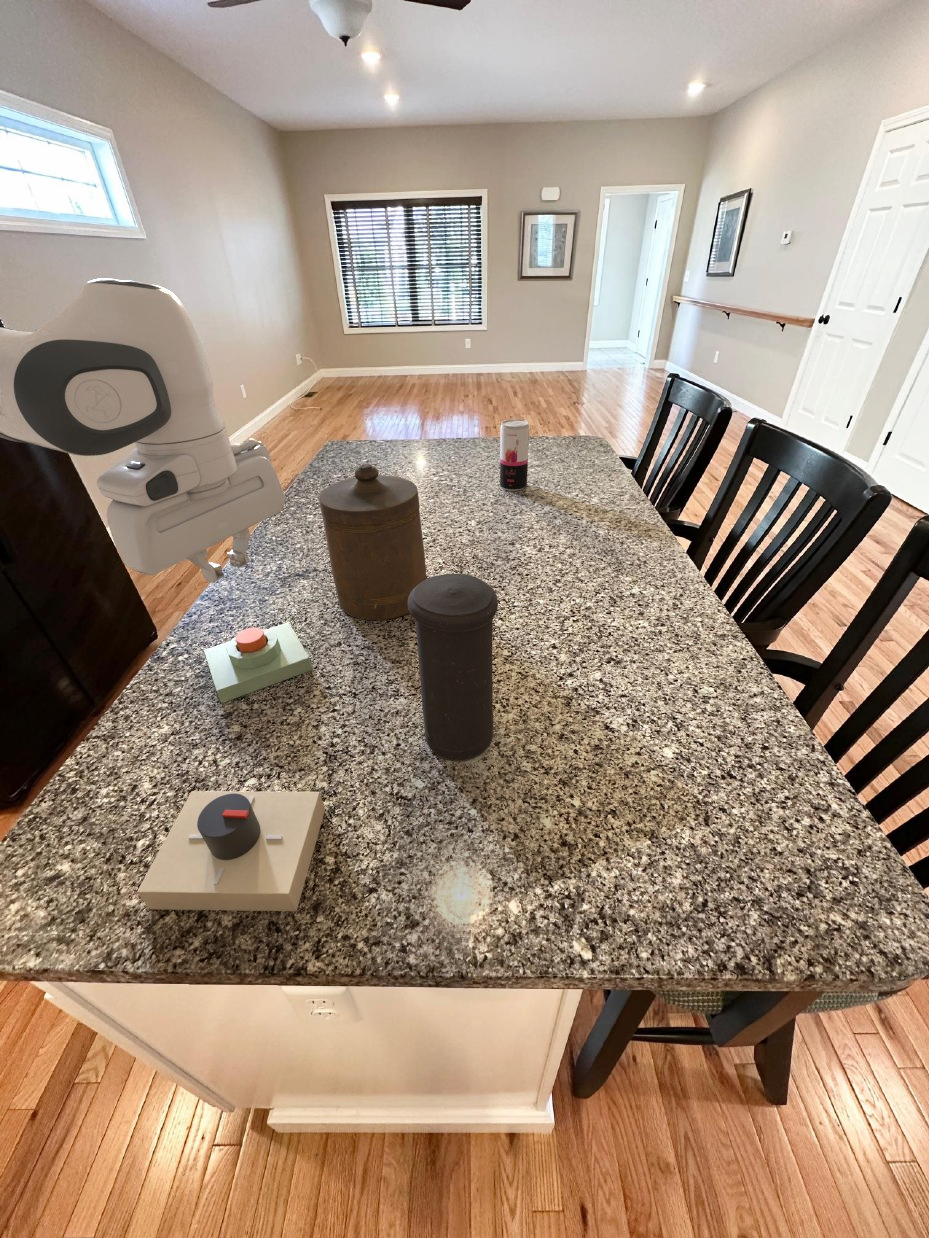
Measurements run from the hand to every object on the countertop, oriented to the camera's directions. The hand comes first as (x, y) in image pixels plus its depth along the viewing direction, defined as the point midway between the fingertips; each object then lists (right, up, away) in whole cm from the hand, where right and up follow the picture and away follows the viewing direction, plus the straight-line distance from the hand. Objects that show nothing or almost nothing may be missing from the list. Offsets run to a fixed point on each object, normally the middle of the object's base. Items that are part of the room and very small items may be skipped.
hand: (228, 571), depth 63 cm
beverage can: (+41, +26, +62) cm, 79 cm away
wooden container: (+16, -2, +23) cm, 28 cm away
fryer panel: (+8, -28, -14) cm, 33 cm away
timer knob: (+8, -26, -16) cm, 32 cm away
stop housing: (0, -12, +9) cm, 15 cm away
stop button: (0, -9, +7) cm, 12 cm away
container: (+28, -19, -3) cm, 35 cm away
